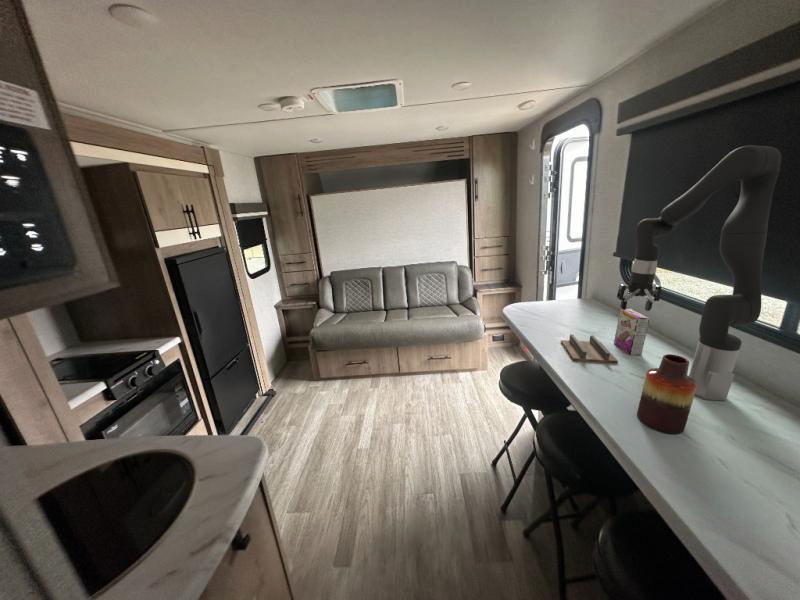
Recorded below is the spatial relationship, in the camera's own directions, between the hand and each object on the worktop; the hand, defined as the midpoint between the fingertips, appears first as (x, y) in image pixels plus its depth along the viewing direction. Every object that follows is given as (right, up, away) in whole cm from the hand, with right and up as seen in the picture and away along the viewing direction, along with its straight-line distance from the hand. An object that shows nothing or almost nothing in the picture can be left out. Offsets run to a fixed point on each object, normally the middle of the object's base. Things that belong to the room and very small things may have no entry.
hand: (635, 309), depth 129 cm
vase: (-20, -31, -37) cm, 53 cm away
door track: (-17, -18, +4) cm, 25 cm away
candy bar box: (0, -17, +5) cm, 18 cm away
